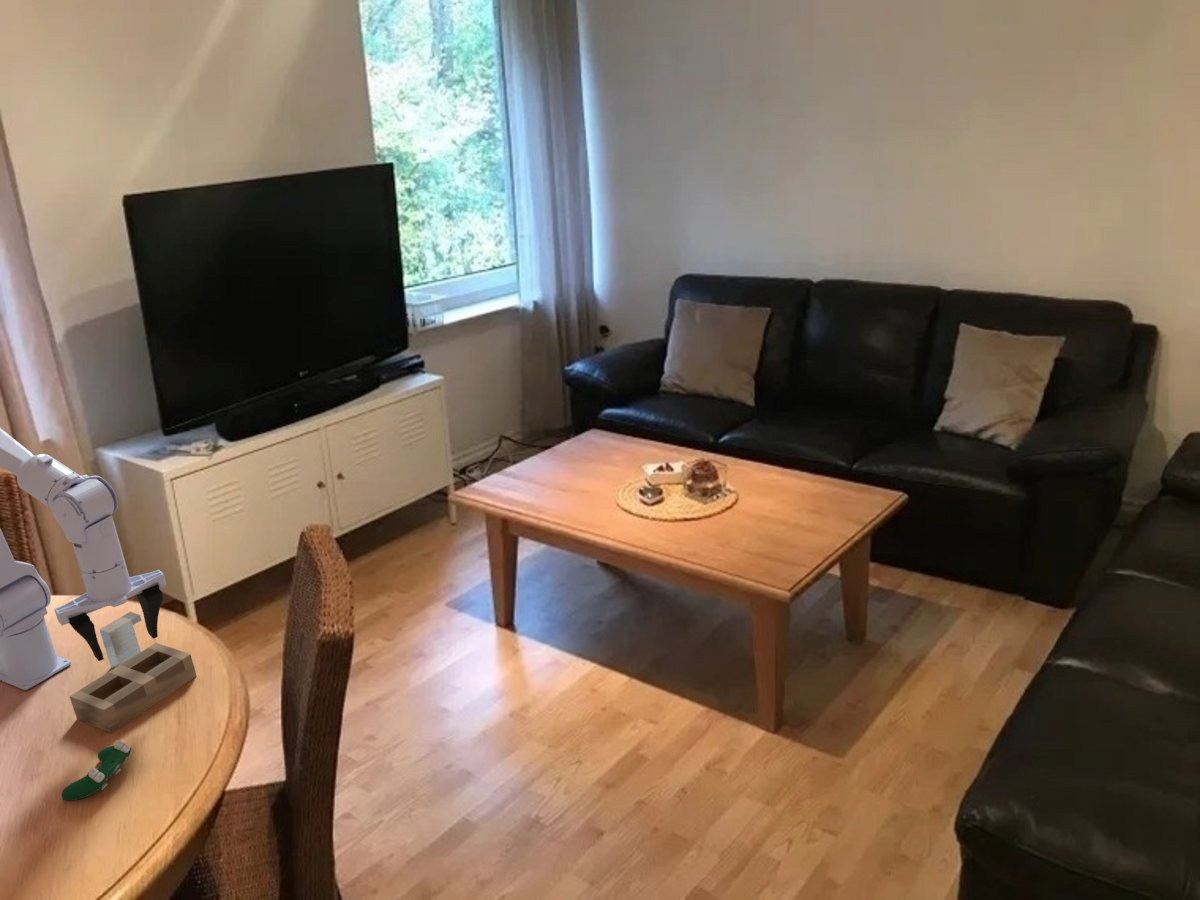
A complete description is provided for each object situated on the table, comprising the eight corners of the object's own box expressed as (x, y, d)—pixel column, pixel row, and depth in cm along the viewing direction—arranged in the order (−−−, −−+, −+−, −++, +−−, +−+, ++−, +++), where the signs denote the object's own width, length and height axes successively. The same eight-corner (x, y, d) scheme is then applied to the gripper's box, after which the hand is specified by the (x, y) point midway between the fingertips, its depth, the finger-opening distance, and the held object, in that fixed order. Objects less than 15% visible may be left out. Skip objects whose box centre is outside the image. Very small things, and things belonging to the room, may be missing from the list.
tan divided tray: (76, 719, 153) (69, 696, 152) (162, 664, 165) (156, 642, 164) (111, 733, 150) (104, 710, 148) (196, 676, 161) (190, 654, 160)
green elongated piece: (79, 815, 137) (100, 792, 134) (56, 797, 136) (76, 773, 134) (122, 768, 145) (142, 745, 143) (100, 751, 145) (120, 727, 142)
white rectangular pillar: (111, 667, 166) (99, 629, 163) (141, 649, 170) (130, 611, 167) (120, 671, 164) (109, 632, 162) (150, 652, 169) (139, 614, 166)
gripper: (55, 593, 140) (82, 679, 145) (164, 553, 148) (186, 635, 153) (40, 575, 145) (67, 659, 150) (146, 538, 153) (168, 618, 158)
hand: (126, 646), depth 152 cm, fingers open, 7 cm apart
